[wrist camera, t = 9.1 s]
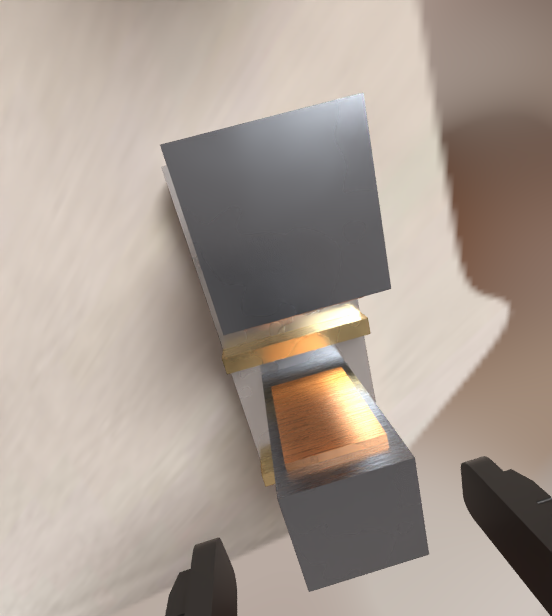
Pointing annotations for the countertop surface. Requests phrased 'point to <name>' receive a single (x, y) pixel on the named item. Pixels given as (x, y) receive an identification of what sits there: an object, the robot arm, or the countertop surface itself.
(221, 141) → the grey and white blocks
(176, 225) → the countertop surface
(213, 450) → the countertop surface
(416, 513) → the wood-topped grey block
